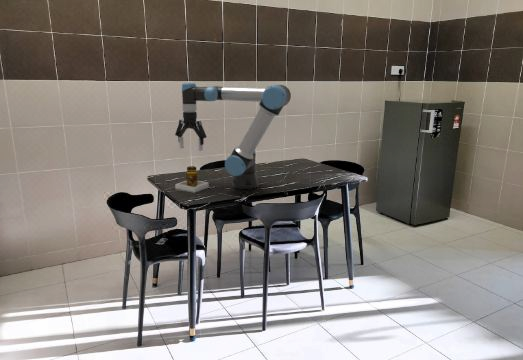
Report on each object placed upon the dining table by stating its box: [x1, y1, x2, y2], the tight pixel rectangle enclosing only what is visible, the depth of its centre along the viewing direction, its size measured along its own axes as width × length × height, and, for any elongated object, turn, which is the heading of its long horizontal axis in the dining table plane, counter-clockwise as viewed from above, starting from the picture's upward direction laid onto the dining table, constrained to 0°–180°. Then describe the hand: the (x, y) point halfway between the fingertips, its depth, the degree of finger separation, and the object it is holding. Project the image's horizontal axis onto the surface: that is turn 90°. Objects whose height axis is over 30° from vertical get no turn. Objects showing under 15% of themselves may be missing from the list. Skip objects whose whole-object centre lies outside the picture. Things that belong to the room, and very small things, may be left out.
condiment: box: [185, 165, 198, 187], centre depth 228 cm, size 7×8×12 cm
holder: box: [174, 180, 210, 194], centre depth 229 cm, size 14×13×3 cm
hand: (191, 149), depth 224 cm, fingers open, 13 cm apart
